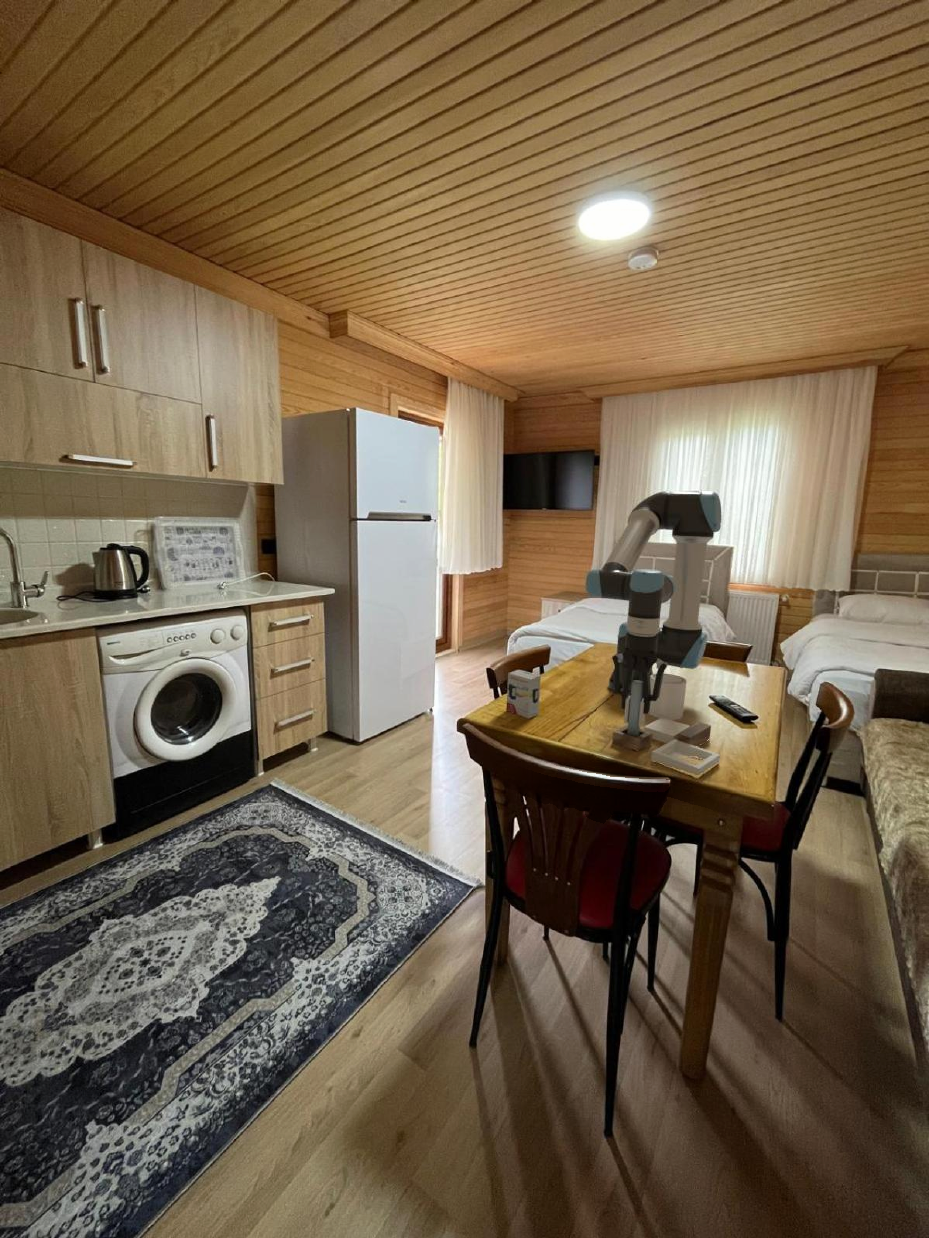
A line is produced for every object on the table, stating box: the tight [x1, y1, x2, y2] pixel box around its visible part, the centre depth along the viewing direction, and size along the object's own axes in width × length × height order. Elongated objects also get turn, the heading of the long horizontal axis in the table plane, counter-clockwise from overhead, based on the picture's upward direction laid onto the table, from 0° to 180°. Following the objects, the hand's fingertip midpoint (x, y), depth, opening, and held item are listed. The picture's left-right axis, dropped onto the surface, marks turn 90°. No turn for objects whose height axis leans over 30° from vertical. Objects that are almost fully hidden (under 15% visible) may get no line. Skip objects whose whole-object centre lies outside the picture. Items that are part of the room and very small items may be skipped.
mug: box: [647, 673, 687, 721], centre depth 156 cm, size 14×10×11 cm
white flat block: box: [643, 717, 691, 744], centre depth 142 cm, size 8×10×3 cm
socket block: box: [611, 724, 653, 752], centre depth 137 cm, size 7×7×3 cm
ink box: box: [505, 669, 541, 719], centre depth 155 cm, size 9×5×12 cm, turn 47°
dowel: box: [627, 680, 644, 737], centre depth 135 cm, size 3×3×15 cm
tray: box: [650, 739, 721, 775], centre depth 127 cm, size 11×11×2 cm
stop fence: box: [678, 722, 712, 747], centre depth 137 cm, size 3×12×4 cm, turn 132°
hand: (633, 722), depth 136 cm, fingers closed on dowel, 3 cm apart
